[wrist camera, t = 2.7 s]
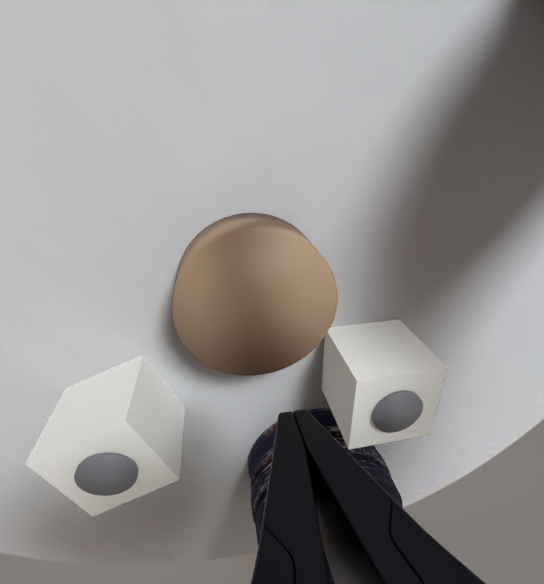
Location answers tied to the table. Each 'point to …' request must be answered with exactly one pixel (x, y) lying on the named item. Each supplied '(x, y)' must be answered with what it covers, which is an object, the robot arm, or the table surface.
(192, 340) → the beige rounded disc
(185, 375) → the table surface
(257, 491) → the storage jar
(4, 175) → the table surface
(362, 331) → the marked cube
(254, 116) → the table surface
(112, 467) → the marked cube
